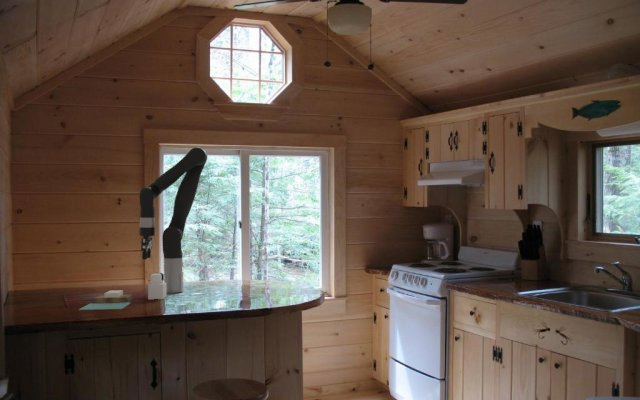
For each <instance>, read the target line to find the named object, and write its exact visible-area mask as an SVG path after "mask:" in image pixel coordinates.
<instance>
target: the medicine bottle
mask: <svg viewBox="0 0 640 400" xmlns="http://www.w3.org/2000/svg"><path fill="white" fill-rule="evenodd" d="M165 298H168V297H167V293H166V282H164V273H163V272H154V273H153V272H152V273H151V274H150V283H148V284H147V300H151V301H152V300H154V299H158V300H164V299H165Z"/></svg>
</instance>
